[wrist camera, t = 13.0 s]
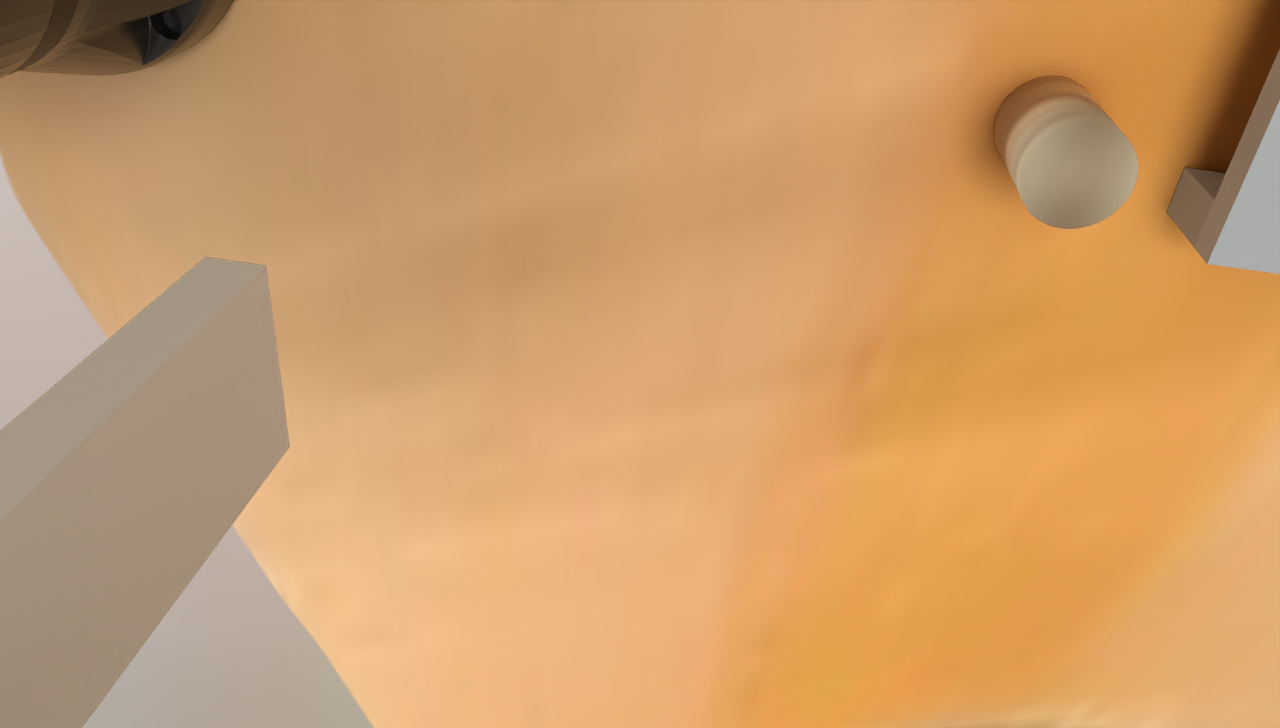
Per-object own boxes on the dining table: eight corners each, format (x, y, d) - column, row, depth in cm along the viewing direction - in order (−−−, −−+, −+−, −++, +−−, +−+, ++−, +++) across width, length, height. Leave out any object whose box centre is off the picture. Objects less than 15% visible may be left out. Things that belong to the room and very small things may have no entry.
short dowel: (981, 164, 42) (1006, 220, 37) (1008, 69, 40) (1038, 116, 35) (1077, 176, 41) (1115, 235, 36) (1110, 82, 39) (1155, 131, 34)
